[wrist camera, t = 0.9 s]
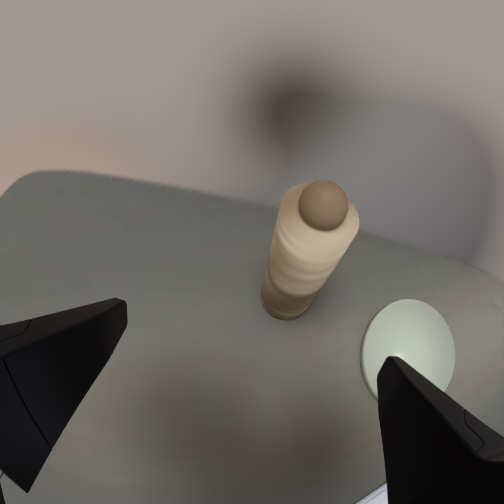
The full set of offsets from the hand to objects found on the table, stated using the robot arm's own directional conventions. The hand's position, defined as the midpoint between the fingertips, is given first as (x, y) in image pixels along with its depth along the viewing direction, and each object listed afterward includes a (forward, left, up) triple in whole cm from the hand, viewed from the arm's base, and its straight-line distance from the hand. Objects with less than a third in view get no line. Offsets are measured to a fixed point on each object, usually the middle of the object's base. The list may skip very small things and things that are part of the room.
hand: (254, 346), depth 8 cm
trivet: (-6, -14, -14) cm, 21 cm away
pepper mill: (+5, -6, -14) cm, 17 cm away
